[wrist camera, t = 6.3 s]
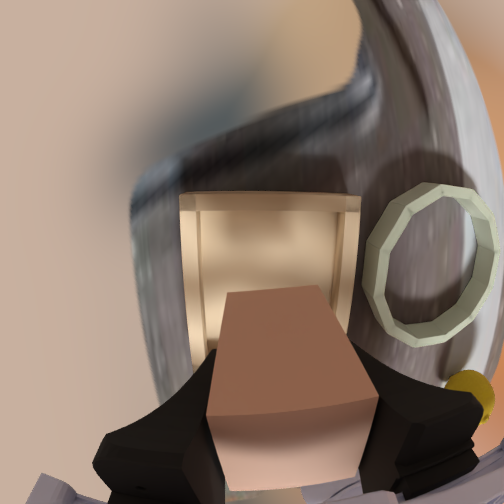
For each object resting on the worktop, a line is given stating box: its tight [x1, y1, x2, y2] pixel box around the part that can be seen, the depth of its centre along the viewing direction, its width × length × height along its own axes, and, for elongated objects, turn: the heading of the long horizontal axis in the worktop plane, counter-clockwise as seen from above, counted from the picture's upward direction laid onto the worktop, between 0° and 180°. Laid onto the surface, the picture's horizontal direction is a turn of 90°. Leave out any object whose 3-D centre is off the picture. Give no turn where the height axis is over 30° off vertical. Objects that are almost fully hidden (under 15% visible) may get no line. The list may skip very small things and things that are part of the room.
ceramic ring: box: [361, 182, 500, 348], centre depth 20 cm, size 13×13×2 cm
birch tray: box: [179, 191, 361, 373], centre depth 20 cm, size 13×11×2 cm
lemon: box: [445, 370, 495, 426], centre depth 20 cm, size 6×6×8 cm
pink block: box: [206, 285, 379, 491], centre depth 11 cm, size 4×4×8 cm
